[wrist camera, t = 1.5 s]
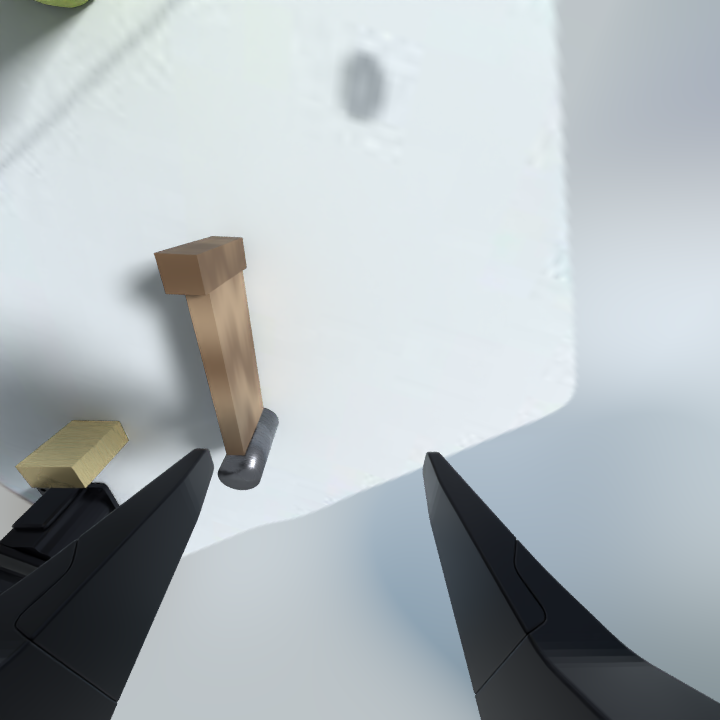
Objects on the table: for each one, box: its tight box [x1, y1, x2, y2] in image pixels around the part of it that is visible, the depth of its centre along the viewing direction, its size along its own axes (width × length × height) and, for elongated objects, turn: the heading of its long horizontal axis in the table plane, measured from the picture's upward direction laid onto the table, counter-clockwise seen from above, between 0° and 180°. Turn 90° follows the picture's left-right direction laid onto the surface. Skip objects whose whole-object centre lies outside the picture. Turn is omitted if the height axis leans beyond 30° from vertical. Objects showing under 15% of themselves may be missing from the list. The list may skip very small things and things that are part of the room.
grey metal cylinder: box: [218, 408, 279, 490], centre depth 23 cm, size 3×3×6 cm
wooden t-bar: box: [154, 236, 263, 455], centre depth 18 cm, size 14×2×6 cm, turn 177°
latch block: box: [15, 420, 129, 488], centre depth 24 cm, size 2×4×5 cm, turn 87°
